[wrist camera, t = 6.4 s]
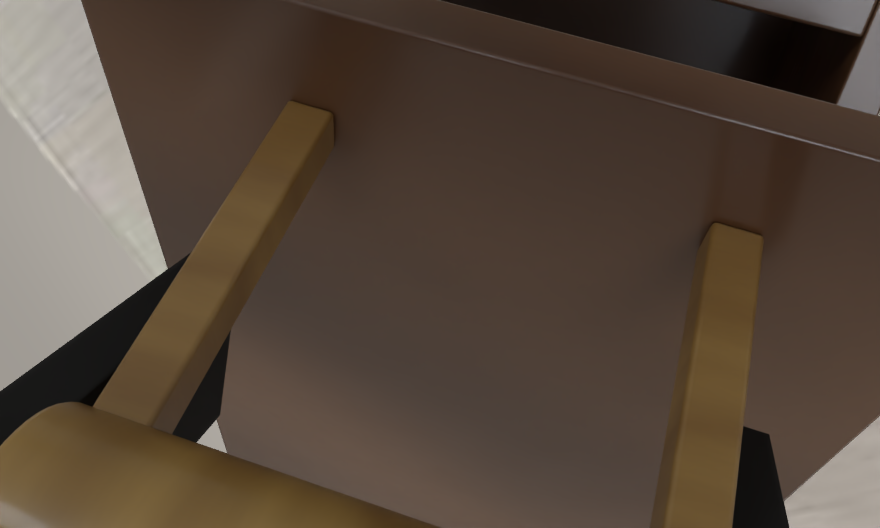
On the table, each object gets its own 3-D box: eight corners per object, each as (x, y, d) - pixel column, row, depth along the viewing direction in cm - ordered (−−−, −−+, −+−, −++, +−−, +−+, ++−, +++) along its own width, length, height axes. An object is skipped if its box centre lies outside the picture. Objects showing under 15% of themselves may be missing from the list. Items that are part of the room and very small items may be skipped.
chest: (425, -126, 26) (323, -144, 18) (839, -25, 24) (928, 5, 16) (342, 309, 33) (240, 436, 25) (663, 411, 31) (666, 582, 23)
